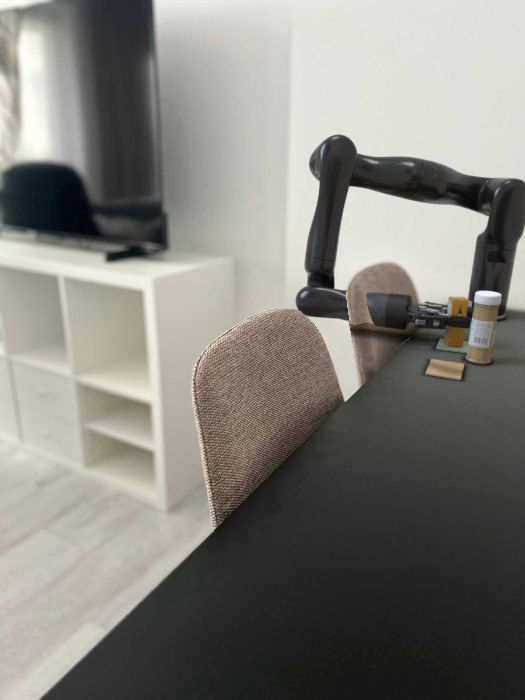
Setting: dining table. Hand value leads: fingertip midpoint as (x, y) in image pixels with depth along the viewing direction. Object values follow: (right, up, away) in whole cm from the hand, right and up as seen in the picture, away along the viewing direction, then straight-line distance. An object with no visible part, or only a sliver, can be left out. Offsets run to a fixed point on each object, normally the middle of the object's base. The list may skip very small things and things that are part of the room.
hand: (470, 319), depth 104 cm
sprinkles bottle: (-1, -8, -5) cm, 10 cm away
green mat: (-2, -5, +3) cm, 7 cm away
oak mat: (-9, -10, -10) cm, 16 cm away
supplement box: (-3, -5, +3) cm, 7 cm away
